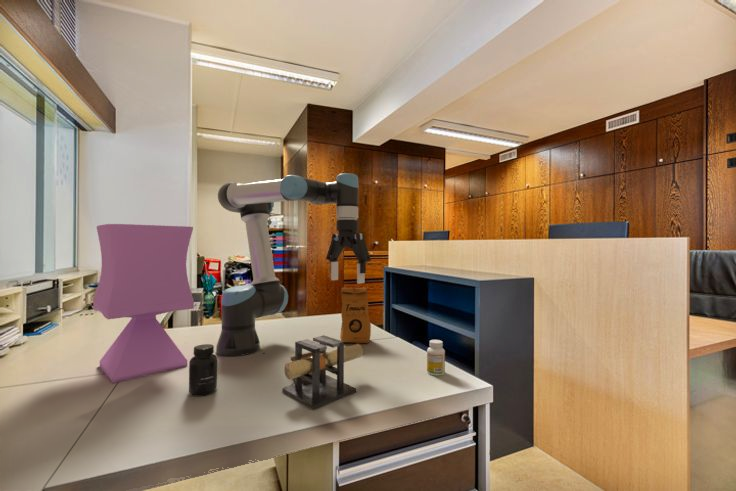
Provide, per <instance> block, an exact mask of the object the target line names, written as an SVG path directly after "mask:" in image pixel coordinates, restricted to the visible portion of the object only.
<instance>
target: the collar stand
mask: <svg viewBox="0 0 736 491" xmlns="http://www.w3.org/2000/svg"><path fill="white" fill-rule="evenodd" d="M328 347H330V348H333V349H334V348H336V350H337V365H336V367H335V366H331V367H328V368H325V369H323V370H320V354H322V353H326V352H327V348H328ZM344 347H345V342H343V341H341V339H340V340H339V339H336V338H333V337H329V336H327V335H325V334H324V335H323V334H322V335H319V336H315V337H313V338H312V340H310V339H308V338H307V339H303V340H298V341H295V342H294V356H295V361H297V360H301V359H302V354H303V350H306V351H307V352H312V375H310V374H306V375H303V376H300V377H297V378H295V379H294V383H293V384H290V385H287V386H283V387H282V393H284V394H285V395H287V396H289V397H290V398H292V399H294V400H296V401H297V402H299V403H301V404H302V405H304V406H306V407H307V408H309V409H310V410H312V411H314V410H317V409H319V408H322V407H323V406H326V405H329V404H332V403H334V402H336V401H339V400H341V399H344V398H347V397H348V396H351V395H353V394H355V393H357V388H356V387H354V386H352V385H350V384H347V383H345V380H344V379H345V377H344V373H345V372H344V370H345V362H344ZM326 372H329V373H332V374H334V375H336V378H334V377H331V376H329V375H327V373H326ZM302 379H304V380H305V381H302Z"/></svg>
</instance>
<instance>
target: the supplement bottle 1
mask: <svg viewBox="0 0 736 491" xmlns="http://www.w3.org/2000/svg"><path fill="white" fill-rule="evenodd" d="M214 347H215V346H214V345H213V344H212V343H211V344H209V343H205V344H199V345H195V346H194V347H193V352H192V353H193V357H191V358H190V360H189V365H188V393H189V395H190V396H194V397H202V396H203V397H205V396H209V395H210V394H213V393H215V391H216V390H217V388H218V387H217V386H218V357H217V356H216V354H214V353H215V349H214Z"/></svg>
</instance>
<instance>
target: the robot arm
mask: <svg viewBox="0 0 736 491" xmlns="http://www.w3.org/2000/svg"><path fill="white" fill-rule="evenodd" d="M359 189H360V187H359V177H358V175H357V174H355V173H351V172H350V173H349V172H348V173H347V172H345V173H338V174H337V175H336V180H335V181H332V182H331V181H329V182H324V181H319V180H315V179H311V178H308V177H303V176H300V175H298V174H296V175H295V174H288V175H285V177H283V178H282V179H281V178H279V179H274V180H273V179H272V180H264V181H263V180H262V181H256V182H248V183H242V182H239V181H234V182H227V183H224V184H223V185H221V187H220V188H219V190H218V192H217V200H218V202H219V205H221V207H222V208H223V209H224V210H227V211H229V212H231V213H237V214H238V213H239V214H240V220H241V221H242V222H243V223H244V224H245V230H246V234H247V235H246V236H247V243H248V244H247V245H248V252H249V257H250V264H251V271H252V279H253V280H252V282H251V283H250V284H244V285H235V286H231V287H228V288H226V289H224V291H223V292H222V295H221V302H220V304H221V331H220V334H219V338H218V340H217V343H216V347H215V350H216V351H215V353H216V354H217V355H219V356H223V357H238V356H245V355H250V354H252V353H255V352H258V351H259V350H260V348H261V345H260V344H261V341H260V339H259V336H258V333H257V330H256V319H260V318H262V317H263V318H264V317H267V316H274V315H276V314H278V313H282V312H283V311H284V310H285V308H286V306H287V304H288V302H289V293H288V291H287V288H285V286H284V285H282V284H281V281H280V278H278V277H276V274H275V267H274V266H275V265H274V261H273V253H272V246H271V239H270V234H269V227H268V220H269V219H270V217H271V215H270V214H271V213H272V212H273V210H274V209H273V208H275V207H274V205H275V203H277V202H292V201H293V202H294V201H295V202H296V201H302V202H309V203H311V205H314V206H315V205H316V206H317V205H320V206H322V205H330V204H331V205H333V204H336V212H335V213H336V214H335V216H336V217H335V218H336V219H337V220H336V223H335V225H336V231H337V232H338V233H332V235H331V241H330V244H329V247H328V251H327V254H326V257H325V259H326V260H327V261H329V262H330V263H329V265H330V268H329V269H330V281H338V280H339V261H338V259H339V257H340V256H341V254H342V251H343V250H344V249H345V248H347V247H348V248H350V249H351V250H352V253H353V254H354V256H355V258H356V260H357V261H358V262H357V263H356V267H357V268H356V273H357V274H356V284H360V285H361V284H365V282H366V281H365V279H366V278H365V275H366V273H367V271H366V270H367V269H366V266H367V263H369V262H371V260H372V258H371V256H370V253H369V250H368V247H367V244H366V240H365V234H364V233H360V232H359V233H358V231H359V220H358V219H359V191H360V190H359Z"/></svg>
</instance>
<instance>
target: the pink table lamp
mask: <svg viewBox="0 0 736 491" xmlns="http://www.w3.org/2000/svg"><path fill="white" fill-rule="evenodd" d="M193 230H194V226H182V225H181V226H180V225H159V224H158V225H155V224H152V225H151V224H131V223H129V224H127V223H126V224H125V223H105V224H104V223H103V224H100V225H96V231H97V236H98V240H99V241H98V242H99V247H100V254H101V272H100V275H99V276H100V277H99V281H98V285H97V288H96V291H95V293H94V297H93V310H94V311H97V312H100V313H101V314H102V316H103V317H104V318H105V319H107V320H113V319H121V318H123V319H124V318H131V319H130V320H129V321H128V323H127V324H126V325H125V327H124V328H123V329H122V330H121V332H120V333H119V334H118V335H117V338H115V340H114V342H113V343H112V344H111V345H110V346H109V348H108V349H107V351H106V352H105V353H104V355H103V356H102V357H101V359H100V360H99V367H100V368H101V370H102V371H103V373H104V374H105V376H106V377H107V378H108V379H109V381H110V382H111V383H112V384H117V383H121V382H125V381H129V380H134V379H137V378H142V377H145V376H150V375H154V374H159V373H162V372H166V371H172V370H175V369H179V368H184V367H187V366H188V359H187V358H186V357H185V355H184V353H183V352H181V349H179V347H178V346H177V344H176V343H175V342H174V340H173V339H172V338H171V337H170V335H169V334H168V333H167V331H166V330H165V328H164V327H163V326H162V325H161V323H160V321H159V320H158V319H157V315H158V316H159V315H162V314H166V313H170V312H175V311H184V310H192V309H193V310H194V308H195V307H194V306H195V305H194V304H195V303H194V301H195V299H194V297H193V293H192V290H191V287H190V282H189V278H188V271H187V260H188V258H187V257H188V251H189V247H190V241H191V239H192V234H193Z"/></svg>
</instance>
